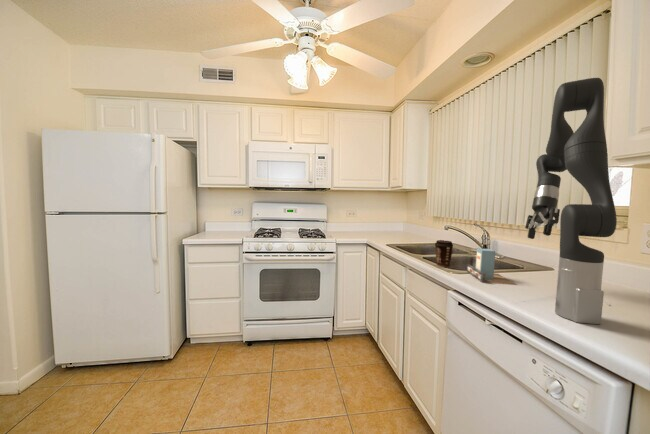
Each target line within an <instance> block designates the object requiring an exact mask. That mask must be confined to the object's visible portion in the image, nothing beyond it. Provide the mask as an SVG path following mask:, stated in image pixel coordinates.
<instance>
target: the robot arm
mask: <svg viewBox="0 0 650 434" xmlns="http://www.w3.org/2000/svg"><path fill="white" fill-rule="evenodd" d="M604 84H605V83H604V82H603V79H602V78H600V77H590V78H584V79H578V80H572V81H568V82H564V83H561V84H560V85H559V87H558V88H557V89H556V92H555V95H554V101H553V106H552V107H553V108H552V114H551V125H550V133H549V137H548V140H547V145H546V147H545V152H546V154H545V153H544V154H541V155H539V156H538V158H537V160H536V163H535V165H536V170H537V176H538V178H537V185H536V189H535V191H534V197H533V200H532V204H531V209H532V210H533V211H534V213H533V215H531V214H528V215H527V220H526V224H525V227H524V228H525V229H527V230H528V232H527V238H528V239H530V240H533V239H535V237H536V232H537V231H536V230H537V229H538V227H540V226H541V225H542V224H544V226H543V230H542V231H543V232H542V235H544V236H548V237H549V236H551V234H552V232H553V231H552V230H553V227H554V226H555V225H558V223H560V228H559V231H560V232H559V257H558V258H559V259H558V266H557V267H558V269H557V280H556V283H557V284H556V293H555V304H554V305H555V307H554V312H555V314H557V315H558V316H560V317H562V318H565V319H566V320H571V321H573V322H575V323H579V324H580V323H581V324H590V325H602V317H603V316H602V315H603V306H604V303H603V300H604V294H605V291H604V290H602V284H603V283H602V282H603V273H604V263H605V253H604V252H603V251H601V250H598V249H595V248H593V247H589V246H588V245H585V244H583V243H582V242H581V241H580V237H590V238H591V237H593V238H610V237H612V236H613V235H614V233H615V232H616V229H617V224H618V223H617V212H616V206H615V202H614V199H613V193H612V190H611V189H612V188H611V183H610V174H609V159H608V157H609V156H608V146H607V145H608V144H607V139H606V130H605V129H606V128H605V121H604V119H605V118H604V117H605V116H604V114H605V112H604V111H605V110H604V109H605V86H604ZM583 110H584V111H586V115H585V116H586V117H585V118H584V120H583V121H582V123H581V124H580V126H578V128H577V129H576V130H575V132H574V130H573V128H572V127H571V125H570V124H569V122H568V121H567V120H566V118H565V113H569V112H574V111H575V112H576V111H577V112H578V111H583ZM565 171H568V173H569V174H570V175H571V176H572V177H573V178H574V180H576V181H577V182H578V183H579V184H580V185H581V186H582V187H583V188H584V189H585V191H586V192H587V194H588V196H589V198H590V202H591V204H586V203H585V204H581V203H580V204H579V203H577V204H576V203H571V204H567V205H565V206H564V207H563V208H562V210H561V209H559V208H558V204H559V203H558V202H559V196H560V186H561V181H562V178H561V176H560V175H558V174H556V173H563V172H565ZM560 211H561V213H560ZM559 219H560V222H559Z"/></svg>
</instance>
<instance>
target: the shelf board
mask: <svg viewBox="0 0 650 434" xmlns="http://www.w3.org/2000/svg"><path fill="white" fill-rule="evenodd" d="M466 273H468V274H470V275H471V277H473V278H475V279H476V280H478V281H479V282H480V283H483V284H493V285H494V284H498V285H511V286H518V284H517V283H515V282H514V281H512V280H510V279H508V278H507V277H504V275H501V274H499V273H495V272H494V278H493V280H492V279H485V274H484V273H483V272H481V271H480V270H478V269H476V266H473V265H471V264H467V266H466Z"/></svg>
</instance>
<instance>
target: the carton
mask: <svg viewBox="0 0 650 434" xmlns="http://www.w3.org/2000/svg"><path fill="white" fill-rule="evenodd" d="M495 260H496V250H494V249H490V248H479V247H478V248H477V249H476V260H475V261H476V263H475V268H476V269H478V270H480V271H481V272H483V273H484V274H485V279H492V280H493V278H494V273H495Z"/></svg>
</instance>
